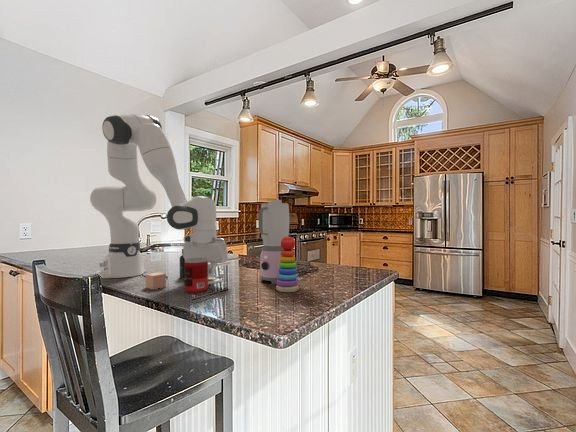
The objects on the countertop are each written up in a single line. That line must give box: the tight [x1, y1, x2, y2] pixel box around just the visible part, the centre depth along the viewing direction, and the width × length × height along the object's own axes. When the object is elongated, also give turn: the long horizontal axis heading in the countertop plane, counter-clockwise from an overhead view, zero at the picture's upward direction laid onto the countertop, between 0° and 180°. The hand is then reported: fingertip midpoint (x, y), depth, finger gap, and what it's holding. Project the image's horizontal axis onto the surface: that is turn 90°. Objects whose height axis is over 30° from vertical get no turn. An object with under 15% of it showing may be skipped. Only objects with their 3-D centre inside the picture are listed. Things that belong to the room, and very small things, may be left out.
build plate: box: [208, 277, 222, 286], centre depth 123 cm, size 9×8×1 cm
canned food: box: [184, 258, 209, 294], centre depth 110 cm, size 8×8×11 cm
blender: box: [257, 199, 290, 285], centre depth 123 cm, size 16×12×32 cm
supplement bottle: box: [179, 248, 185, 279], centre depth 133 cm, size 7×7×12 cm
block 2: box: [208, 262, 215, 278], centre depth 123 cm, size 5×5×5 cm
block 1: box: [145, 272, 167, 291], centre depth 115 cm, size 5×5×5 cm
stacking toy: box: [275, 235, 300, 293], centre depth 109 cm, size 8×8×19 cm
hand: (205, 272), depth 123 cm, fingers closed on block 2, 5 cm apart
